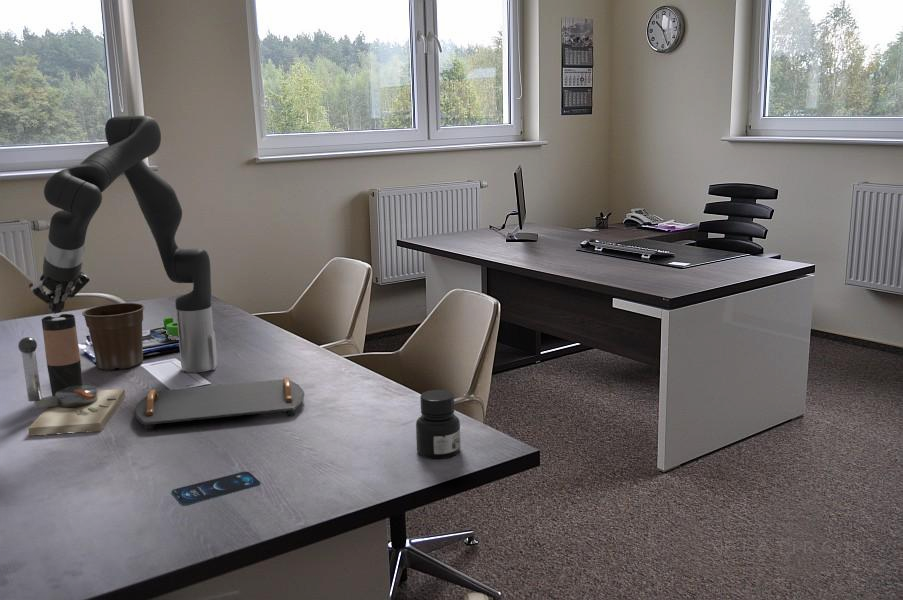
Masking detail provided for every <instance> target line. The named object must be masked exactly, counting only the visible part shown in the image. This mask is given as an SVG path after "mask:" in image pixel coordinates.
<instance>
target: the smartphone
mask: <svg viewBox="0 0 903 600" xmlns="http://www.w3.org/2000/svg"><path fill="white" fill-rule="evenodd" d="M261 483H262V482H261V481H260V480H259V479H257V478H256V477H255V476H254V475H253V474H252V473H251V472H250V471H240V472H237V473H233V474H229V475H224V476H221V477H217V478H214V479H212V478H211V479H209V480H205V481H202V482H197V483H193V484H189V485H185V486H181V487H177V488H174V489H172V490H171V494H172V495H173V496H175V497H174V498H175V499H176V500H177V502H178V503H179V502H180V505H181V504H182V506H189V505H192V504H191V503H193V504H196V503H195V502H197V503H200V502H199V501H201V502H203V501H202V500H205V501H207V500H206V499H208V500H211V499H210V498H212V499H214V498H213V497H215V498H218V497H217V496H219V497H222V496H225V495H224V494H226V495H229V494H228V493H230V494H232V492H233V493H236V491H237V492H240V491H239V490H241V491H244V490H246V489H251V487H252V488H255V487H258V486H260V485H261ZM243 489H244V490H243ZM221 495H222V496H221ZM188 504H189V505H188Z"/></svg>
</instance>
